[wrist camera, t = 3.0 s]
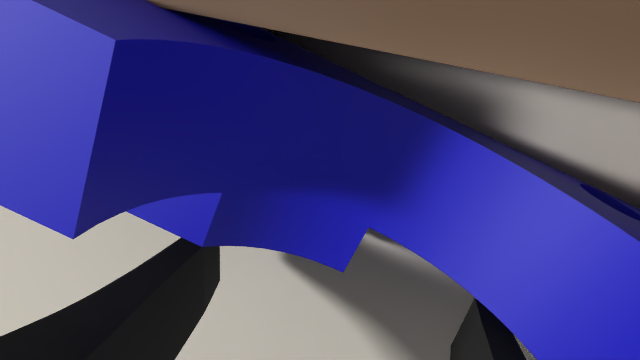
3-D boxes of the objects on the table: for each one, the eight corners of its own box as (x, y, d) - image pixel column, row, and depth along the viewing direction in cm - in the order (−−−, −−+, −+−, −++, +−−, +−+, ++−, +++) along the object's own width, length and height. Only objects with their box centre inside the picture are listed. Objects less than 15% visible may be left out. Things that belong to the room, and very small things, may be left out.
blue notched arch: (162, 155, 12) (-29, 272, 7) (208, 2, 10) (-3, -16, 5) (531, 329, 12) (647, 586, 7) (638, 208, 10) (913, 418, 5)
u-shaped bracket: (701, 262, 11) (779, 364, 8) (81, 113, 13) (-2, 158, 11) (913, 22, 7) (1150, 74, 5) (33, -121, 10) (-105, -135, 7)
